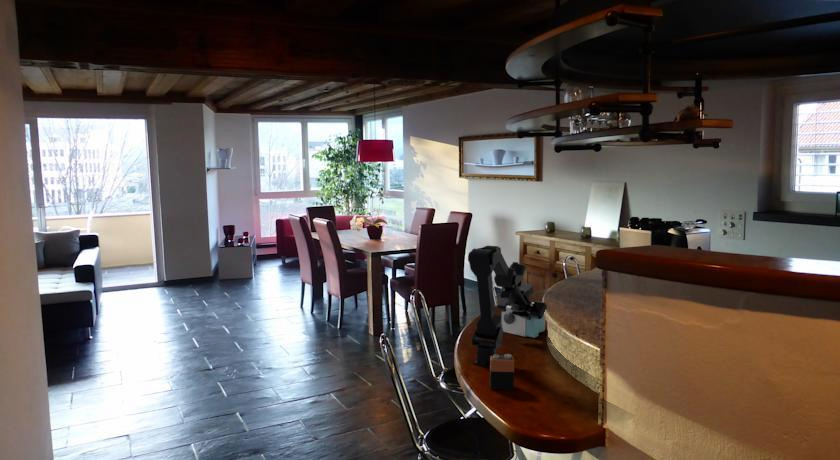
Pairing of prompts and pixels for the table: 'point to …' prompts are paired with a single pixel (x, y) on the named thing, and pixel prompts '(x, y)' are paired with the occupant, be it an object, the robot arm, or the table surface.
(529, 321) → the side door
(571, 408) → the table surface
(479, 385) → the table surface
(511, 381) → the battery
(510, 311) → the camera body
